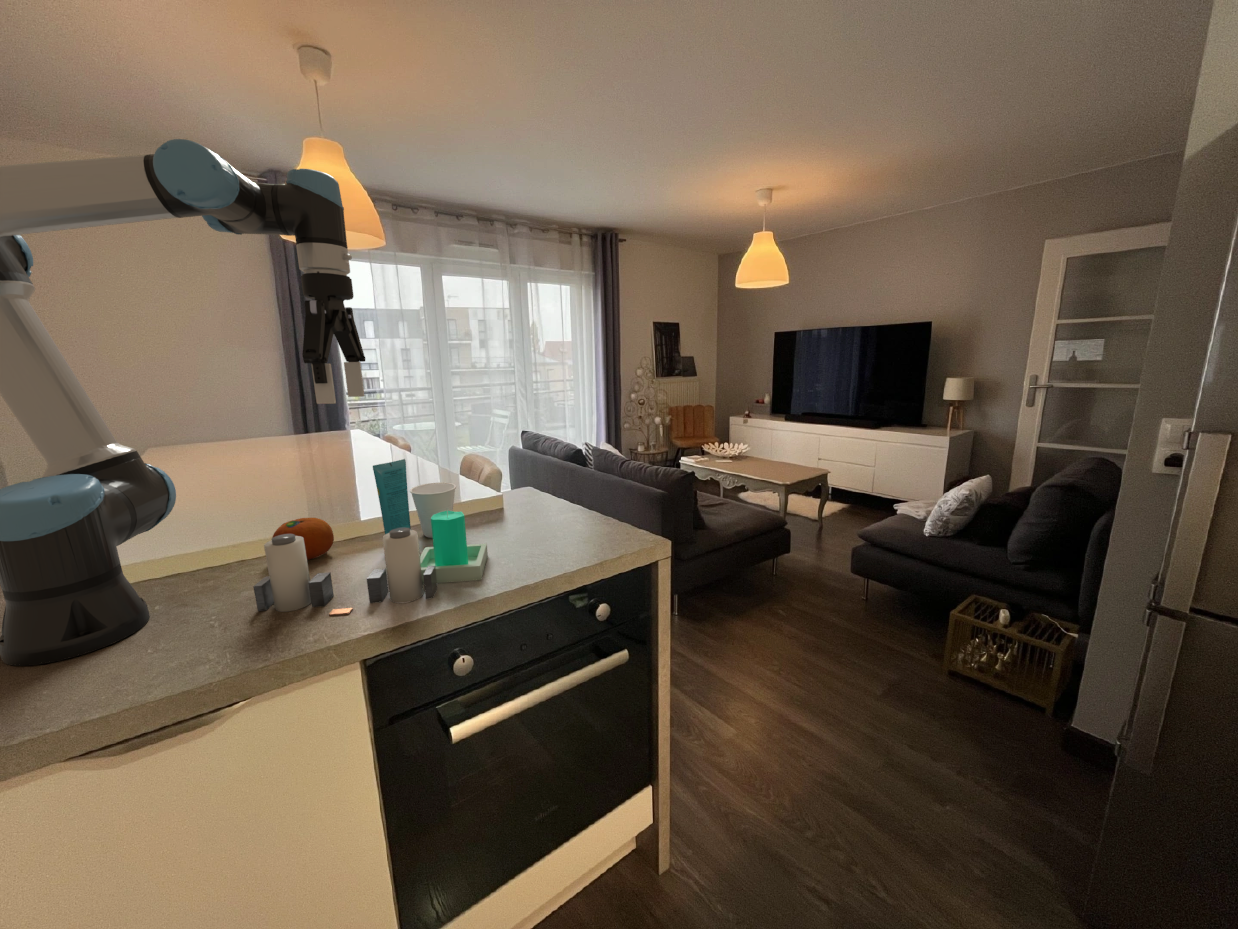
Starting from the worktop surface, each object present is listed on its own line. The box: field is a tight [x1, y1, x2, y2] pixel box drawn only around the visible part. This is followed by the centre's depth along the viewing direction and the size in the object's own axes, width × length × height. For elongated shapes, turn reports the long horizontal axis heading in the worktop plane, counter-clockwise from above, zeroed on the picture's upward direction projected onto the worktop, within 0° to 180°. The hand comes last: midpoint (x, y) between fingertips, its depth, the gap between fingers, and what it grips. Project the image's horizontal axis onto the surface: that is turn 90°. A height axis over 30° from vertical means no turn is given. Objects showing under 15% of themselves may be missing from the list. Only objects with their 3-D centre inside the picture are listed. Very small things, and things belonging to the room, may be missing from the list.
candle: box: [431, 509, 468, 567], centre depth 94 cm, size 6×6×12 cm
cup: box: [409, 482, 457, 539], centre depth 114 cm, size 10×10×11 cm
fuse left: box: [263, 534, 311, 613], centre depth 82 cm, size 5×5×12 cm
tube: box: [372, 458, 412, 535], centre depth 103 cm, size 7×5×19 cm, turn 156°
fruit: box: [271, 517, 335, 561], centre depth 101 cm, size 11×10×8 cm
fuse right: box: [382, 527, 425, 604], centre depth 84 cm, size 5×5×12 cm
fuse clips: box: [253, 566, 438, 617], centre depth 82 cm, size 27×7×4 cm, turn 98°
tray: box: [420, 543, 489, 585], centre depth 95 cm, size 12×11×3 cm
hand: (342, 400), depth 89 cm, fingers open, 13 cm apart
